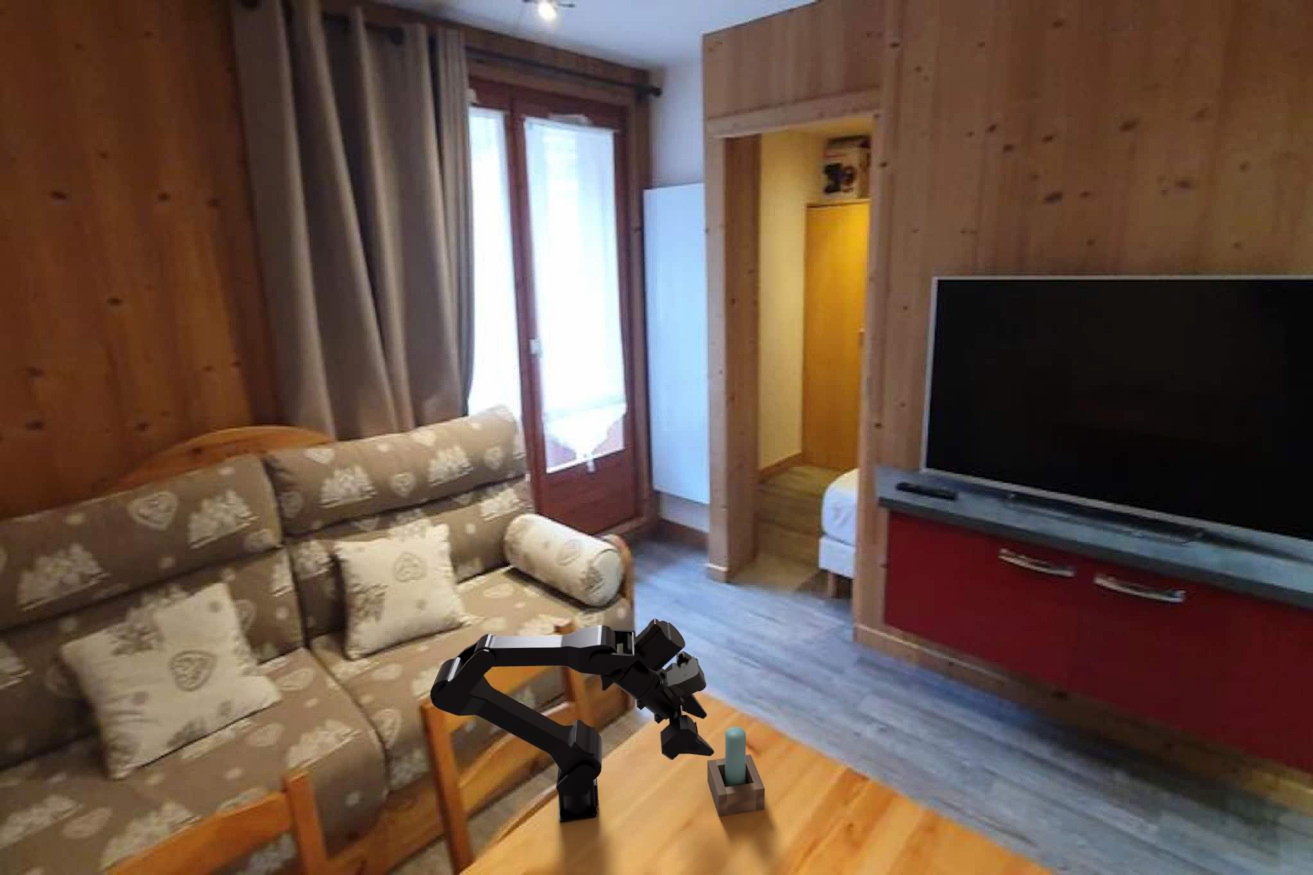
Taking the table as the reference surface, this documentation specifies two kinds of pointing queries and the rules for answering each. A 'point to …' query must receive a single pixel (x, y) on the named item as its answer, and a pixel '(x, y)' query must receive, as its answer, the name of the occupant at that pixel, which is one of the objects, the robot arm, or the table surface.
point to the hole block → (735, 789)
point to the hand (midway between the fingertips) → (708, 734)
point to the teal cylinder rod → (735, 756)
